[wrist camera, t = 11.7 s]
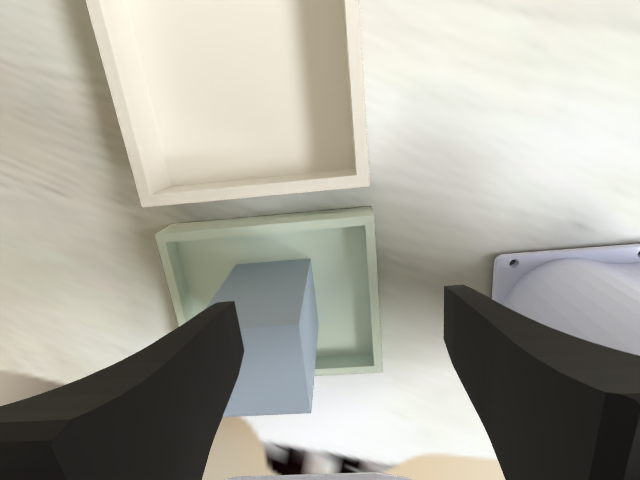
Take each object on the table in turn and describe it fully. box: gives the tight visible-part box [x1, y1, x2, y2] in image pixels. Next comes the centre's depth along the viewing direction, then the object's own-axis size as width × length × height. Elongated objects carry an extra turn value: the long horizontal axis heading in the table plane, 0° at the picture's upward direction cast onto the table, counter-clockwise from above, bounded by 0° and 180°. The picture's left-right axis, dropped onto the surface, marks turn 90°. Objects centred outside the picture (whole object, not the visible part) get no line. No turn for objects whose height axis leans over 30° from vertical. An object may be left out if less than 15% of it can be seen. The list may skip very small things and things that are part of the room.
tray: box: [154, 206, 383, 376], centre depth 21 cm, size 12×10×2 cm
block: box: [206, 259, 319, 417], centre depth 18 cm, size 4×4×7 cm
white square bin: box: [85, 0, 370, 208], centre depth 17 cm, size 12×12×3 cm
